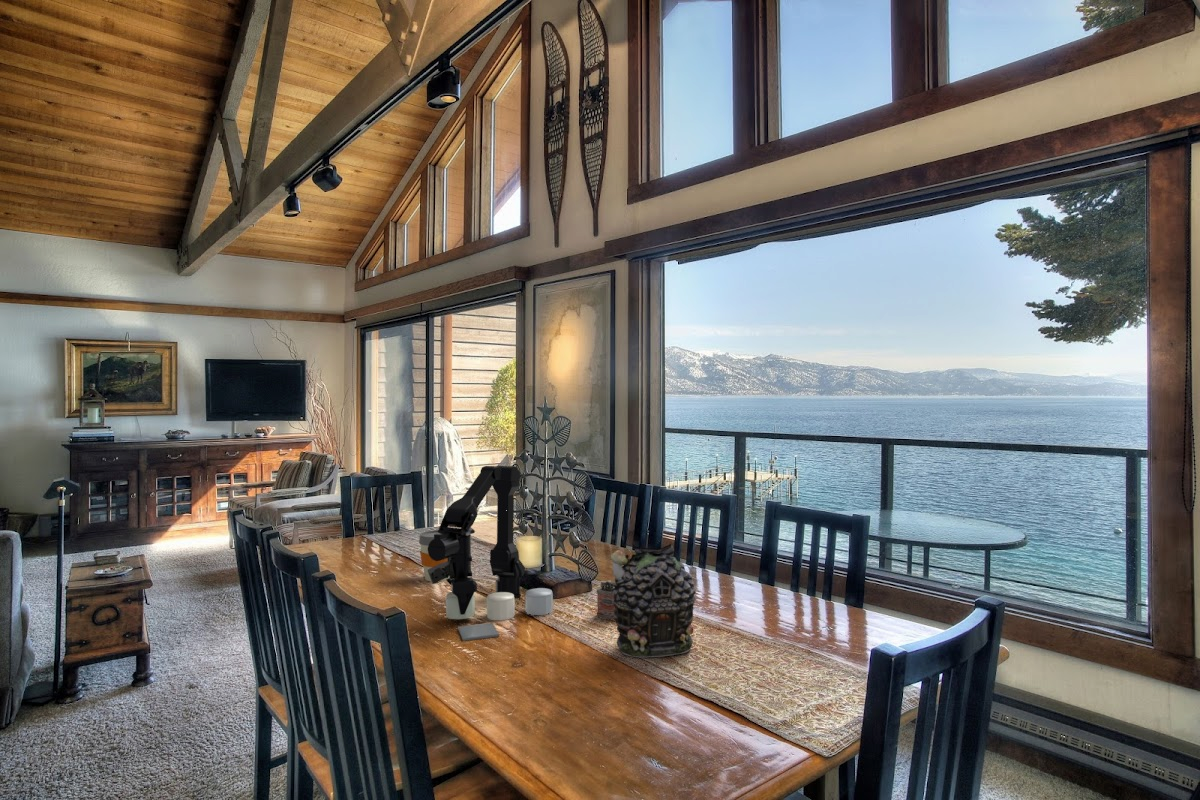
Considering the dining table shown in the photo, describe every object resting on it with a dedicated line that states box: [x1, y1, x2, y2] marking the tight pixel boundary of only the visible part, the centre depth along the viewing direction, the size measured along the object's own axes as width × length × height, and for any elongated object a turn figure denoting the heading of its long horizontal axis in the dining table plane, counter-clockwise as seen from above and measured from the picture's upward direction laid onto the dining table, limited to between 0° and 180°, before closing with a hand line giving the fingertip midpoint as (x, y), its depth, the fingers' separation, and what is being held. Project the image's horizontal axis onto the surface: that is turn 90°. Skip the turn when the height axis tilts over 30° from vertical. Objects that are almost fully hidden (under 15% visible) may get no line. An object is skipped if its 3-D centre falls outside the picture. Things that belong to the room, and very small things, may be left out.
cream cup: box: [486, 592, 516, 622], centre depth 183 cm, size 7×7×6 cm
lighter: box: [596, 579, 615, 621], centre depth 181 cm, size 8×3×10 cm, turn 62°
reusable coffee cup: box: [418, 529, 449, 582], centre depth 223 cm, size 12×13×15 cm
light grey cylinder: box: [525, 587, 554, 616], centre depth 187 cm, size 7×7×6 cm
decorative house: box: [610, 544, 697, 659], centre depth 158 cm, size 21×15×25 cm
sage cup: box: [445, 591, 476, 620], centre depth 180 cm, size 7×7×6 cm
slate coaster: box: [457, 622, 500, 642], centre depth 170 cm, size 9×9×1 cm
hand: (460, 609), depth 180 cm, fingers closed on sage cup, 7 cm apart
